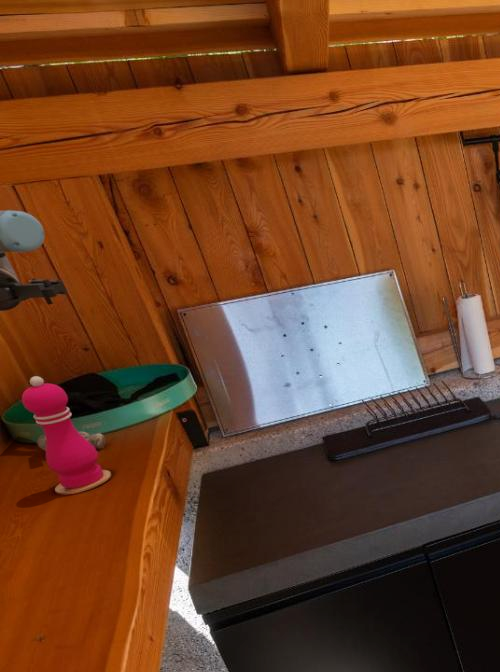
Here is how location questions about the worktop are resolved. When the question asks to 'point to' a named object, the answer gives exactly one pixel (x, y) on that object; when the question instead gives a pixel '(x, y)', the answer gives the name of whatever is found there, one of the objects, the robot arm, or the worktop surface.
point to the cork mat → (65, 491)
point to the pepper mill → (62, 435)
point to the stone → (94, 439)
